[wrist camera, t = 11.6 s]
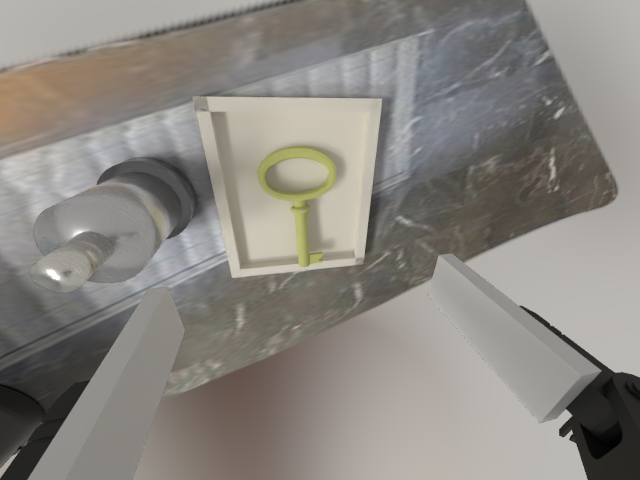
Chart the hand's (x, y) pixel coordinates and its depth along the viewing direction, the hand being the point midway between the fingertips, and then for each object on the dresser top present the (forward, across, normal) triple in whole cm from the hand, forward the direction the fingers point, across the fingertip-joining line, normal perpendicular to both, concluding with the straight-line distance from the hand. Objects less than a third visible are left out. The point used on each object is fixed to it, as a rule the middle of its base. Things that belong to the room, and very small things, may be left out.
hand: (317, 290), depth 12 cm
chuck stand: (+15, -12, +1) cm, 19 cm away
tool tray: (+15, +1, 0) cm, 15 cm away
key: (+14, +1, -1) cm, 14 cm away
